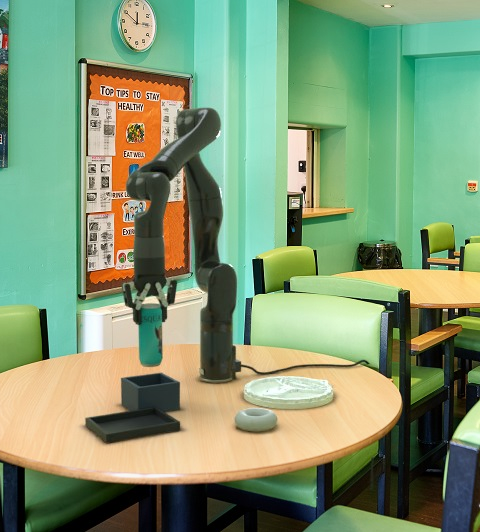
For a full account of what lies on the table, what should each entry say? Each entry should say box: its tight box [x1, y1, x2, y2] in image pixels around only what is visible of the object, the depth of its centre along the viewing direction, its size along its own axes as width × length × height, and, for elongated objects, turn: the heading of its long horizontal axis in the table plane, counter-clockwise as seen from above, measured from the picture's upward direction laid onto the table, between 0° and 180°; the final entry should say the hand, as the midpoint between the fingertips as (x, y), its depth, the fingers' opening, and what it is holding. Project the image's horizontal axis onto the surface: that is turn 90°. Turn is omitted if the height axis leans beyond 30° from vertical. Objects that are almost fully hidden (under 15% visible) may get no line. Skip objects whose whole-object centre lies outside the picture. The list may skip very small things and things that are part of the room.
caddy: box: [120, 372, 181, 413], centre depth 202 cm, size 11×11×7 cm
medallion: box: [243, 375, 334, 410], centre depth 215 cm, size 24×27×2 cm
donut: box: [233, 407, 278, 432], centre depth 188 cm, size 10×3×10 cm
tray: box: [84, 407, 181, 444], centre depth 186 cm, size 18×14×2 cm
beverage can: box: [137, 302, 164, 368], centre depth 200 cm, size 6×6×15 cm
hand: (150, 322), depth 200 cm, fingers closed on beverage can, 5 cm apart
